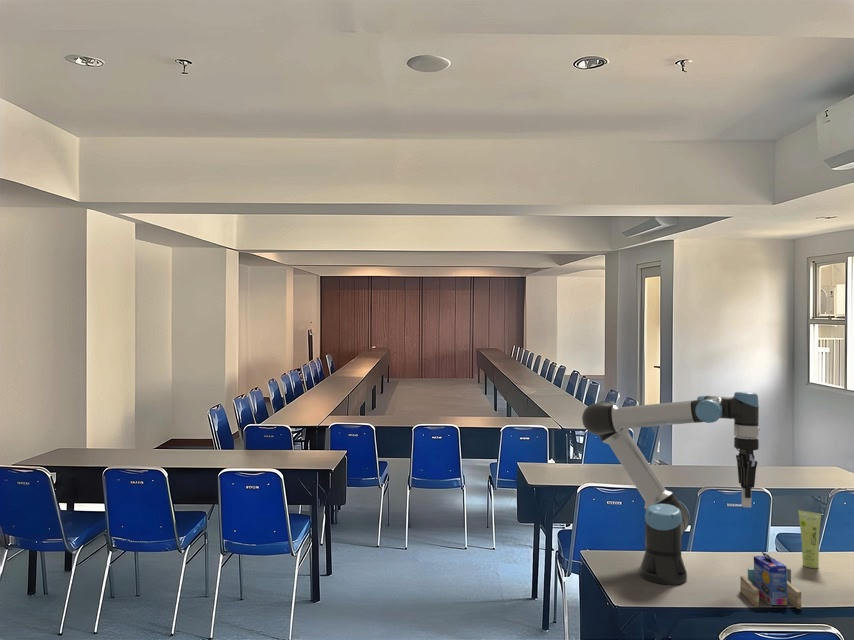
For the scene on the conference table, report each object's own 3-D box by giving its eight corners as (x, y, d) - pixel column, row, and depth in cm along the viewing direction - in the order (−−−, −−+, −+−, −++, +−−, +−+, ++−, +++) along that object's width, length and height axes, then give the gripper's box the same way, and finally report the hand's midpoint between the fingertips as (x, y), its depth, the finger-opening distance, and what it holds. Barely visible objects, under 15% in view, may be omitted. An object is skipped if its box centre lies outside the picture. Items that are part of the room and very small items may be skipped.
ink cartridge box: (752, 594, 210) (752, 548, 211) (769, 593, 211) (769, 548, 211) (770, 606, 201) (770, 558, 201) (788, 606, 201) (788, 558, 201)
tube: (805, 568, 235) (805, 513, 236) (798, 563, 240) (797, 509, 241) (821, 568, 235) (821, 513, 235) (813, 564, 240) (813, 510, 240)
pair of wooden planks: (754, 606, 200) (754, 589, 201) (740, 591, 212) (740, 575, 213) (801, 608, 199) (801, 592, 199) (784, 593, 211) (784, 577, 211)
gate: (789, 592, 212) (789, 568, 213) (791, 593, 211) (791, 570, 211) (747, 590, 214) (747, 566, 214) (749, 591, 212) (749, 568, 212)
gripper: (765, 440, 218) (765, 512, 217) (750, 434, 231) (750, 502, 230) (741, 439, 219) (742, 511, 218) (728, 434, 232) (728, 501, 231)
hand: (746, 506), depth 224 cm, fingers closed
